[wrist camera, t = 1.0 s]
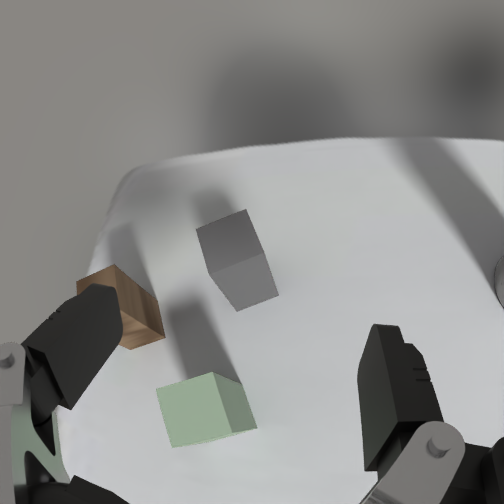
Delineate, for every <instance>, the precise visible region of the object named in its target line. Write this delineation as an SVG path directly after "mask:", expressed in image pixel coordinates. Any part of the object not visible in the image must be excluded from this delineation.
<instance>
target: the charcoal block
mask: <svg viewBox="0 0 504 504" xmlns="http://www.w3.org/2000/svg"><path fill="white" fill-rule="evenodd" d="M196 231H197V235H198V238H199V242H200V245H201V249H202V252H203V256H204V259H205V263H206V266H207V269H208V273H209V275H210V276H211V278H212V279H213V280H214V282H215V283H216V284H217V286H218V287H219V289H220V290H221V291H222V293H223V294H224V295H225V297H226V298H227V299H228V300H229V302H230V303H231V304H232V306H233V307H234V308H235V310H236V311H240V310H243V309H245V308H248V307H250V306H253V305H256V304H258V303H261V302H263V301H266V300H268V299H271V298H273V297H276V296H278V295H279V294H278V291H277V288H276V285H275V283H274V280H273V277H272V274H271V271H270V268H269V265H268V262H267V259H266V256H265V253H264V251H263V248H262V246H261V244H260V241H259V239H258V236H257V234H256V232H255V229H254V227H253V224H252V222H251V220H250V217H249V215H248V213H247V210H246V209H245V210H242V211H240V212H237V213H235V214H232V215H230V216H227V217H225V218H222V219H220V220H217V221H215V222H212V223H210V224H208V225H205V226H203V227H200V228H198V229H196Z"/></svg>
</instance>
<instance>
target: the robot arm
mask: <svg viewBox="0 0 504 504" xmlns="http://www.w3.org/2000/svg"><path fill="white" fill-rule="evenodd" d="M494 282H495V289H496V293H497V296H498V298H499V300H500V303H501V304H502V306H503V307H504V256H503V257H502V258H501V260H500V261H499V262H498V264H497V266H496V270H495V277H494ZM122 335H123V323H122V318H121V313H120V307H119V302H118V296H117V292H116V289H115V288H114V287H112V286H107V285H102V284H97V283H92V284H90V285H89V286H88V287H87V288H86V289H85V290H84V291H82V292H81V293H80V294H79V295H77V296H75V297H73V298H71V299H69V300H67V301H65V302H64V303H63V304H62V305H61V306H60V307H59V308H58V309H57V310H56V312H53V313H52V314H51V315H50V316H49V319H46V320H45V321H44V322H43V323H42V324H41V325H40V326H39V327H38V328H37V329H36V330H35V331H34V332H33V333H32V334H31V335H30V336H29V337H28V338H27V339H26V340H25V341H24V342H23V343H22V344H18V343H13V342H9V343H4V344H1V345H0V504H129V503H128V502H126V501H125V500H123V499H122V498H120V497H119V496H117V495H116V494H115V493H113V492H111V491H109V490H106V489H104V488H102V487H99V486H97V485H95V484H93V483H90V482H88V481H86V480H84V479H82V478H80V477H78V476H76V475H74V476H73V478H72V480H71V481H70V478H69V476H68V474H67V472H66V470H65V468H64V465H63V461H62V455H61V448H60V441H59V433H58V423H57V415H56V412H55V410H54V409H55V408H56V407H57V405H60V406H63V407H65V408H67V409H69V410H72V408H73V407H74V405H75V404H76V403H77V401H78V400H79V398H80V397H81V395H82V394H83V393H84V391H85V390H86V388H87V387H88V385H89V384H90V383H91V381H92V380H93V378H94V377H95V376H96V374H97V373H98V372H99V370H100V369H101V367H102V366H103V365H104V363H105V362H106V360H107V359H108V358H109V356H110V355H111V354H112V352H113V351H114V350H115V348H116V347H117V346H118V344H119V343H120V341H121V338H122ZM430 380H431V378H430V375H429V373H428V371H427V367H426V364H425V361H424V358H423V355H422V354H421V353H420V352H419V351H418V350H417V349H416V347H415V346H414V345H413V344H410V343H404V340H403V337H402V334H401V331H400V328H399V327H398V326H393V325H380V324H373V326H372V327H371V330H370V333H369V336H368V339H367V342H366V345H365V348H364V351H363V354H362V357H361V360H360V363H359V368H358V375H357V383H358V392H359V402H360V413H361V424H362V437H363V452H364V470H365V471H377V473H378V481H377V482H376V484H375V485H374V486H373V487H372V489H371V490H370V491H369V492H368V493H367V495H366V496H365V497H364V498H363V499H362V501H361V502H360V503H359V504H504V437H502V438H501V439H499V440H498V441H497V442H496V443H495V445H494V446H493V447H492V448H489V447H484V446H478V445H473V444H468V443H465V442H464V439H463V437H462V435H461V434H460V432H459V431H458V430H457V429H456V428H454V427H453V426H451V425H450V424H447V423H445V422H444V420H443V417H442V413H441V410H440V407H439V403H438V400H437V397H436V394H435V391H434V388H433V384H432V382H430Z"/></svg>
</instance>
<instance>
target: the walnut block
mask: <svg viewBox="0 0 504 504" xmlns="http://www.w3.org/2000/svg"><path fill="white" fill-rule="evenodd" d="M92 283H97V284H102V285H107V286H112V287H114V288H115V289H116V292H117V296H118V302H119V307H120V313H121V318H122V323H123V335H122V338H121V341H120V343H119V345H121V346H123V347H125V348H127V349H130V350H131V349H134V348H137V347H140V346H143V345H146V344H149V343H152V342H155V341H158V340H161V339H164V338H166V337H165V333H164V329H163V324H162V320H161V315H160V310H159V305H158V301H157V300H156V299H155V298H154V297H152V296H151V295H150V294H149V293H148V292H146V291H145V290H144V289H143V288H141V287H140V286H139V285H138V284H137V283H135V282H134V281H133V280H132V279H131V278H130V277H128V276H127V275H126V274H125V273H124V272H123V271H121V270H120V269H119V268H118V267H117V266H116V265H112V266H109V267H107V268H105V269H103V270H101V271H98V272H96V273H94V274H92V275H90V276H87V277H85V278H83V279H81V280H79V281H77V295H79V294H80V293H81V292H82V291H84V290H85V289H86V288H87V287H88V286H89V285H90V284H92Z"/></svg>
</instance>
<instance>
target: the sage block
mask: <svg viewBox="0 0 504 504" xmlns="http://www.w3.org/2000/svg"><path fill="white" fill-rule="evenodd" d="M156 392H157V396H158V400H159V404H160V408H161V411H162V415H163V419H164V422H165V426H166V429H167V433H168V436H169V439H170V443H171V446H172V448H175V447H182V446H188V445H194V444H200V443H205V442H211V441H215V440H219V439H222V438H226V437H230V436H233V435H237V434H240V433H244V432H247V431H250V430H253V429H257V426H256V423H255V420H254V417H253V414H252V412H251V409H250V406H249V403H248V400H247V397H246V394H245V391H244V389H243V386H242V384H240V383H237V382H235V381H233V380H230V379H228V378H226V377H223V376H221V375H219V374H217V373H214V372H210V373H207V374H204V375H201V376H197V377H194V378H191V379H188V380H185V381H182V382H178V383H175V384H172V385H168V386H165V387H161V388H158V389H156Z"/></svg>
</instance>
